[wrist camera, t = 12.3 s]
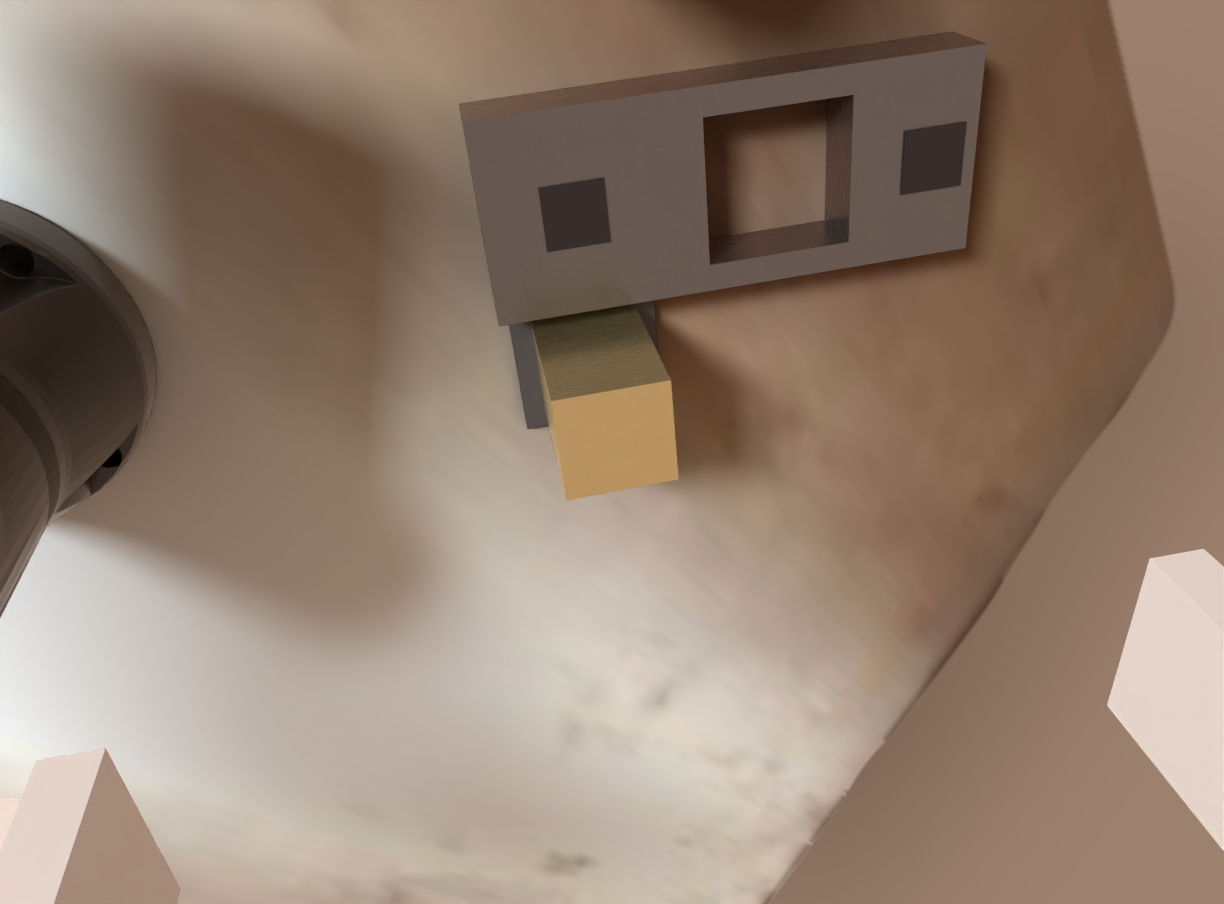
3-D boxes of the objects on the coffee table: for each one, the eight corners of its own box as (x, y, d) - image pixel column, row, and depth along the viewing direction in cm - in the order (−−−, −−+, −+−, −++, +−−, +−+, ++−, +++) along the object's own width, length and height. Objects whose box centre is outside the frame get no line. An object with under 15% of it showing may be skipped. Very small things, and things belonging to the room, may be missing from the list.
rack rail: (494, 299, 46) (499, 327, 43) (458, 103, 41) (462, 122, 39) (936, 226, 48) (966, 248, 46) (953, 31, 43) (987, 44, 41)
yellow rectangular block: (544, 409, 49) (566, 500, 42) (530, 319, 46) (551, 401, 40) (641, 392, 49) (678, 479, 43) (633, 302, 47) (671, 380, 40)
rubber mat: (526, 423, 50) (527, 429, 49) (504, 298, 46) (505, 303, 46) (659, 399, 51) (662, 405, 50) (649, 273, 47) (651, 278, 46)
